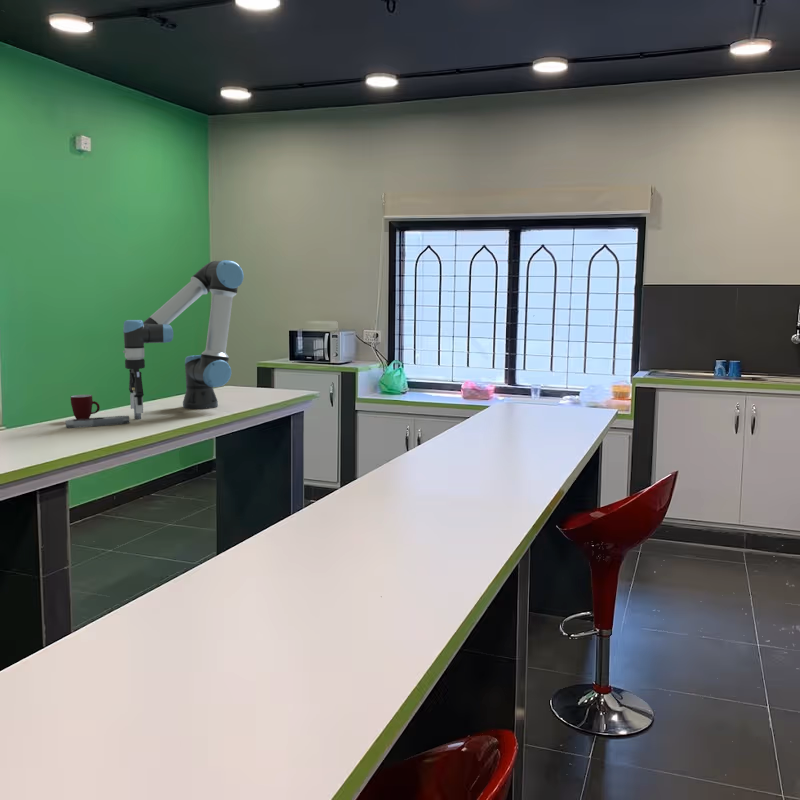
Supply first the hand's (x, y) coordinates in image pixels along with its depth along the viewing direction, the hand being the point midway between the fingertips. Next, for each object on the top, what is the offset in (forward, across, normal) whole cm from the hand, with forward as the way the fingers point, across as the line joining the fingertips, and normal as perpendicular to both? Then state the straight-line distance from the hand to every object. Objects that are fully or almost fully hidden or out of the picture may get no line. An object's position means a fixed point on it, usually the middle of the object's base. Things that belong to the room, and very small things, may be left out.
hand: (136, 410), depth 320 cm
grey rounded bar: (+4, +7, -16) cm, 18 cm away
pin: (+3, 0, 0) cm, 3 cm away
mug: (+4, -7, -19) cm, 20 cm away
